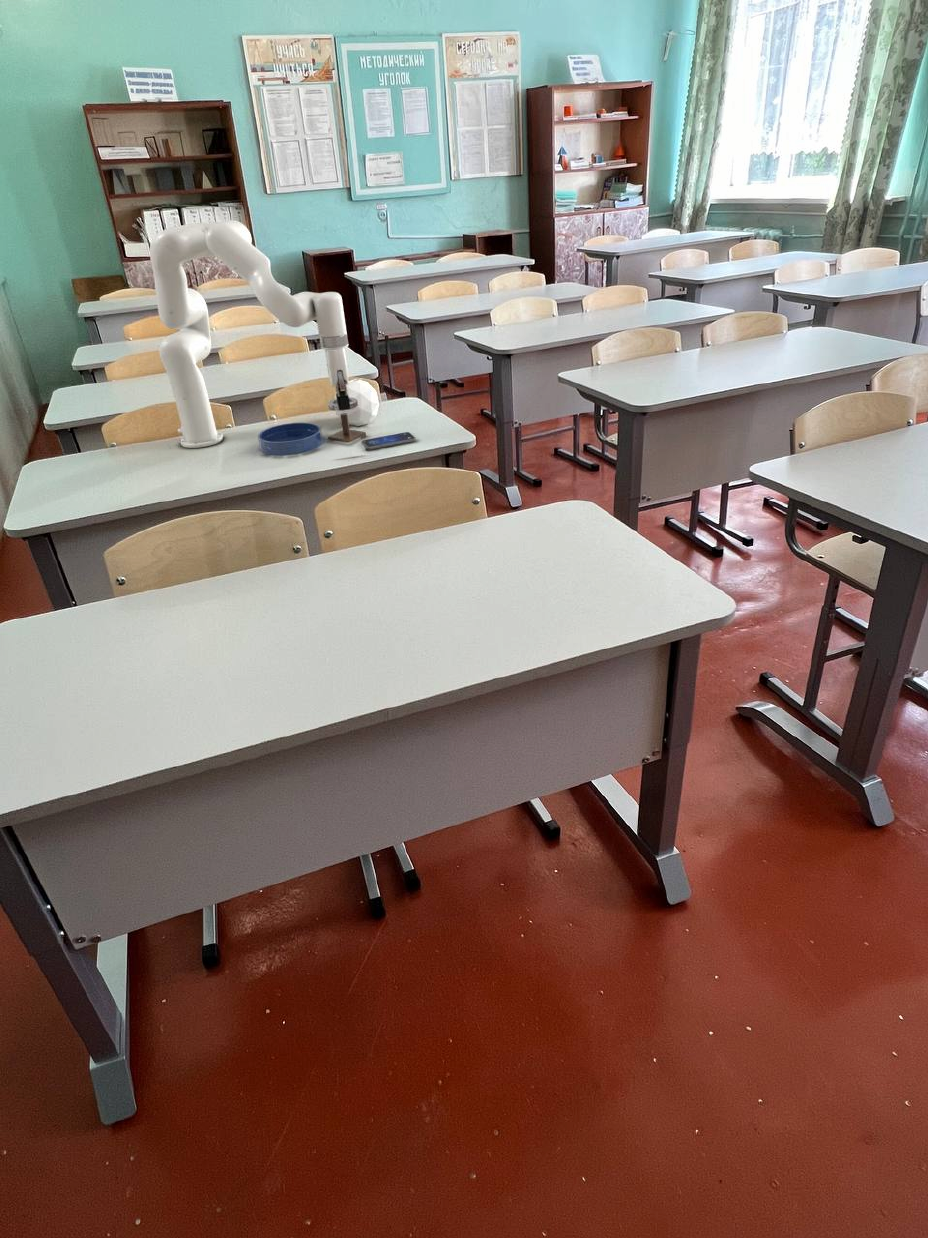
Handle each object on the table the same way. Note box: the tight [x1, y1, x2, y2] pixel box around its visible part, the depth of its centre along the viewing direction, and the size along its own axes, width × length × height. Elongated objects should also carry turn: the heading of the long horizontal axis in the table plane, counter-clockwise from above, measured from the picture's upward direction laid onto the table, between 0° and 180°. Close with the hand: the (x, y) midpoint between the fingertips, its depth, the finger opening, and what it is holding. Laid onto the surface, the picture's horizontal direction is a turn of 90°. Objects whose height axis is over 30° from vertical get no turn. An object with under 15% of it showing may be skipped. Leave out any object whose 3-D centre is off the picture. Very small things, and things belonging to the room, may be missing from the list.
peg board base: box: [327, 413, 367, 443], centre depth 223 cm, size 8×8×8 cm
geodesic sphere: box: [333, 377, 380, 428], centre depth 234 cm, size 15×14×14 cm
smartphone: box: [360, 431, 417, 451], centre depth 219 cm, size 7×1×15 cm
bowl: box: [257, 422, 324, 456], centre depth 221 cm, size 18×18×4 cm
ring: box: [327, 397, 358, 412], centre depth 219 cm, size 8×8×2 cm
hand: (344, 407), depth 217 cm, fingers closed on ring, 1 cm apart
